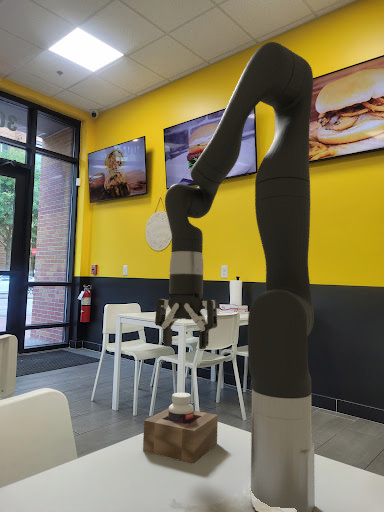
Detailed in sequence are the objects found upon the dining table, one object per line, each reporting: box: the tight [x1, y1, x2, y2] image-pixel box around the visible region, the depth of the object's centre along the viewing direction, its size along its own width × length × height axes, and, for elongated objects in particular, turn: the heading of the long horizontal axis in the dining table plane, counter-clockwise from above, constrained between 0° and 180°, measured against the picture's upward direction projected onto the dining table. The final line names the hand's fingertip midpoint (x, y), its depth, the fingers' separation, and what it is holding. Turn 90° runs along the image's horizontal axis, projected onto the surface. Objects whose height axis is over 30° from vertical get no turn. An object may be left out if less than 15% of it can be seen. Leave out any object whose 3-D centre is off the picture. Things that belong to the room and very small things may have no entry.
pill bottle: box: [168, 392, 195, 425], centre depth 79 cm, size 5×5×10 cm
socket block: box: [142, 407, 219, 464], centre depth 79 cm, size 12×12×6 cm
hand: (184, 347), depth 81 cm, fingers open, 8 cm apart
